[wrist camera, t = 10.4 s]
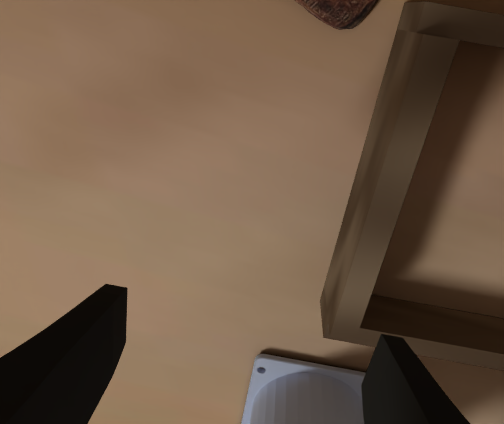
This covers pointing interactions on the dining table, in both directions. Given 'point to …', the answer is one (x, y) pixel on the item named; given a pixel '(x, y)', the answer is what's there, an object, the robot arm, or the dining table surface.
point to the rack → (394, 191)
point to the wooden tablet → (339, 11)
